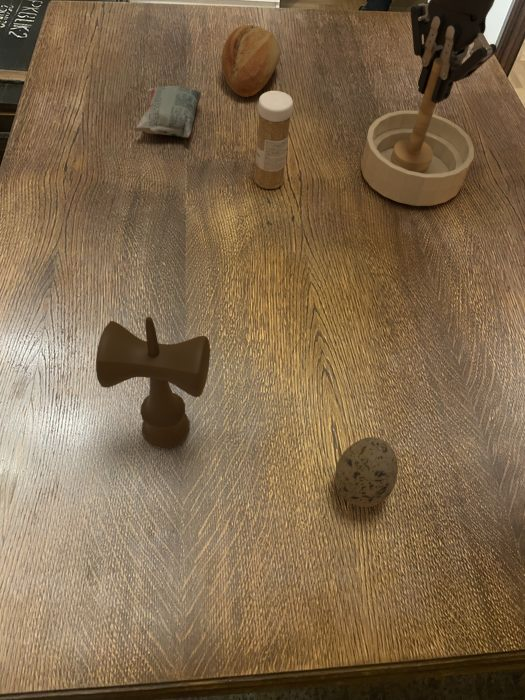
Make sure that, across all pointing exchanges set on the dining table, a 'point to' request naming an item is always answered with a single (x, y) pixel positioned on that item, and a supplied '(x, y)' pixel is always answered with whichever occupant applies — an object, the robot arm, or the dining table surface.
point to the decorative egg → (367, 472)
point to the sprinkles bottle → (272, 138)
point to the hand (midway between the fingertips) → (431, 95)
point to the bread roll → (249, 59)
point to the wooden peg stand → (419, 131)
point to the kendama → (155, 377)
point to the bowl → (408, 186)
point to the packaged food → (170, 111)
